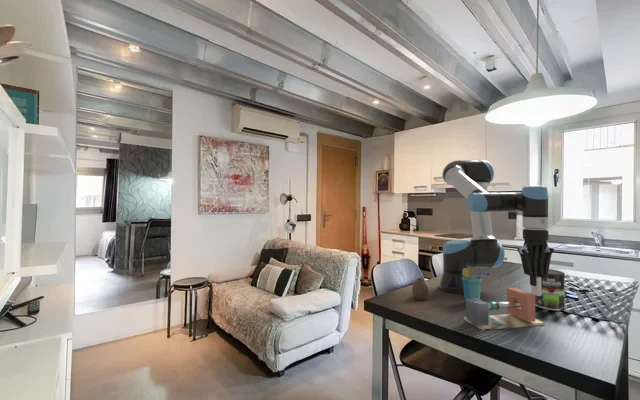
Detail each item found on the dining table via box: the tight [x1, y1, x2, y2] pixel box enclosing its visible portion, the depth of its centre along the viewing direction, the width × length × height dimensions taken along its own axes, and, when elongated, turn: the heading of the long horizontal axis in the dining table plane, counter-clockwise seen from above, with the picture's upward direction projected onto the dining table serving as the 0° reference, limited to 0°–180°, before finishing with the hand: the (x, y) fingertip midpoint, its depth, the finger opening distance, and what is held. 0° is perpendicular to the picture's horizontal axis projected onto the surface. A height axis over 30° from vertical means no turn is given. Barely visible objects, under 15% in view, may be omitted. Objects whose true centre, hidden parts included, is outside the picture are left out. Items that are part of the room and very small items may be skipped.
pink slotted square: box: [506, 287, 536, 322], centre depth 105 cm, size 3×9×9 cm, turn 9°
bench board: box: [463, 313, 545, 331], centre depth 104 cm, size 24×9×1 cm, turn 99°
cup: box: [462, 268, 490, 304], centre depth 122 cm, size 14×8×15 cm, turn 21°
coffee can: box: [535, 268, 566, 312], centre depth 119 cm, size 10×10×14 cm
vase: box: [411, 277, 429, 301], centre depth 130 cm, size 7×7×9 cm
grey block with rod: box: [465, 298, 521, 329], centre depth 104 cm, size 24×6×8 cm, turn 99°
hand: (536, 294), depth 106 cm, fingers closed
